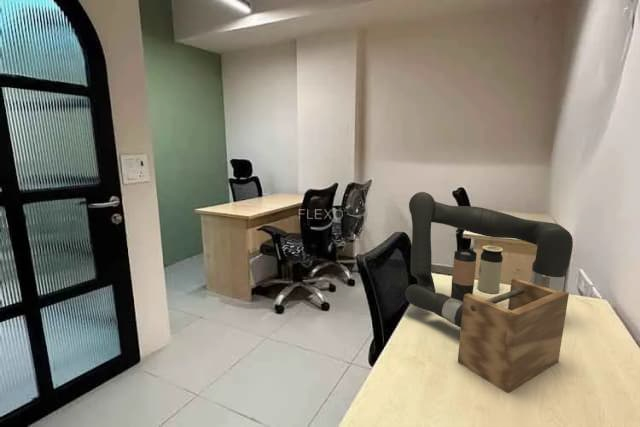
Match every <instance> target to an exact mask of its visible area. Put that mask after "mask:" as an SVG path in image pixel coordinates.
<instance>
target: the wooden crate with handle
mask: <svg viewBox="0 0 640 427" xmlns="http://www.w3.org/2000/svg"><path fill="white" fill-rule="evenodd" d="M569 295H570V293H569V292H567V291H564V290H563V291H561V290H560V291H555V290H552V289H549V288H546V287H543V286H539V285H536V284H533V283H530V281H526V280H523V279H520V278H517V277H514V278H511V281H510V290H509V291H507V292H504V293H502V294H499V295H497V296H493V297H490V298H488V299H484V298H482V297H479V296H477V295H474V294H473V295H472V294H470V293H468V294H465V295H464V299H463V310H462V320H461V328H460V332H459V342H458V343H459V344H458V353H457V363H458V364H459V365H461V366H463V367H464V368H466V369H467V370H470V371H471V372H473V373H474V374H476V375H477V376H479V377H481V378H482V379H483V380H485V381H488V382H489V383H490V384H492V385H494V386H495V387H497V388H499V389H500V390H502V391H503V392H505V393H507V394H509V393H511V392H512V391H514V390H517V389H518V388H519V387H521V386H522V385H524V384H526V383H527V382H528V381H530V380H532V379H533V378H535V377H536V376H538V375H540V374H542V373H543V372H545V371H546V370H548V369H549V368H551V367H553V366H554V365H556V364H557V363H559V361H560V353H561V348H562V347H561V346H562V341H563V340H562V339H563V334H564V327H565V320H566V314H567V309H568V308H567V307H568V302H569ZM506 300H508V307H505V306H502V305H499V304H498V303H501V302H502V301H506Z"/></svg>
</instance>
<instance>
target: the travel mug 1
mask: <svg viewBox="0 0 640 427" xmlns="http://www.w3.org/2000/svg"><path fill="white" fill-rule="evenodd" d="M476 266H477V252H476V251H473V250H472V249H471V250H470V249H464V248H463V249H458V250H454V256H453V266H452V277H451V289H450V292H451V293H450V297H451V298H454V299H457V300H460V301H463V299H464V295H465V294H468V293H470V294H472V295H474V288H475V287H474V286H475V278H476Z"/></svg>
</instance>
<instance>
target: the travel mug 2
mask: <svg viewBox="0 0 640 427" xmlns="http://www.w3.org/2000/svg"><path fill="white" fill-rule="evenodd" d="M481 248H482V252H481V254H480V258H479V268H478V269H479V270H478V271H479V272H478V279H477V290H479V291H480V292H483V293H485V292H486V294H498V293H499V292H500V285H501V276H502V269H503V268H502V267H503V260H504V258H503V254H502V252H503V251H504V249H503V248H502V247H500V246H496V245H483V246H482V247H481Z"/></svg>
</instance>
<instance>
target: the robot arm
mask: <svg viewBox="0 0 640 427" xmlns="http://www.w3.org/2000/svg"><path fill="white" fill-rule="evenodd" d="M408 209H409V213H410V216H411V217H410V218H411V223H412V224H411V226H412V227H411V228H412V229H411V230H412V237H411V238H412V239H411V247H410V248H411V250H410V274H411V276H412V277H414V278H416V281H417V283H414V284H410V285H408V286H407V288H406V289H405V290H404V291H405V294H404V295H405V298H406V301H407V302H408V303H409V304H410V305H412V306H414V307H416V308H419V309H421V310H425V311H428V312H431V313H433V314H435V315H436V316H438V317H441V318H442V319H444V320H447V321H448V322H449V323H450V324H452V325H455V326H456V327H458V328H460V329H461V320H462V310H463V301H460V300H457V299H454V298H451V296H450V295H447V294H445V293H441V292H436V286H435V282H434V278H433V275H432V238H431V237H432V236H431V235H432V230H431V229H432V223H435V224H441V225H446V226H448V227H449V226H450V227H452V228H455V229H459V230H462V231H464V232H465V231H466V232H469V233H472V234H477V235H479V236H480V235H481V236H483V237H490V238H497V239H498V238H499V239H515V240H519V241H523V242H527V243H530V244H533V245H535V246H537V247H536V254H535V258H534V261H533V262H532V267H531V274H530V275H531V276H530V281H529V282H530V283H533V284H536V285H539V286H543V287H546V288H549V289H552V290H555V291H560V290H561V291H564V287H565V279H566V275H567V270H568V269H569V266H570V262H571V257H572V252H573V245H574V241H573V236H572V234H571V233H570V231H568V229H566V228H565V227H563V226H562V225H560V224H558V223H554V222H547V221H539V220H533V219H525V218H520V217H518V216H514V215H511V214H507V213H504V212H500V211H498V210H493V209H489V208H484V207H479V206H473V205H471V206H468V205H465V206H464V205H449V204H445V203H442V202H438V201H436V200H435V199H434V197H433V196H432V195H431V194H430V193H428V192H426V191H425V192H424V191H420V192H416V193H415V194H414V195H412V197H410V199H409V202H408Z"/></svg>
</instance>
